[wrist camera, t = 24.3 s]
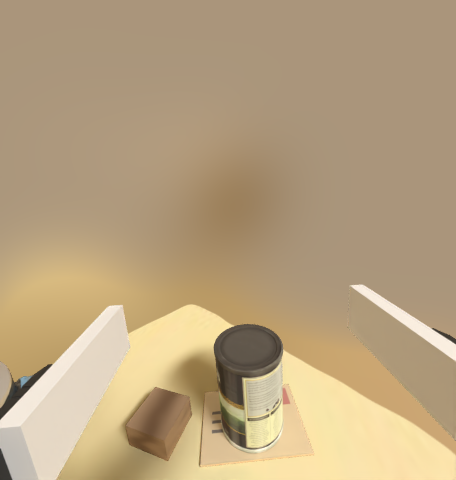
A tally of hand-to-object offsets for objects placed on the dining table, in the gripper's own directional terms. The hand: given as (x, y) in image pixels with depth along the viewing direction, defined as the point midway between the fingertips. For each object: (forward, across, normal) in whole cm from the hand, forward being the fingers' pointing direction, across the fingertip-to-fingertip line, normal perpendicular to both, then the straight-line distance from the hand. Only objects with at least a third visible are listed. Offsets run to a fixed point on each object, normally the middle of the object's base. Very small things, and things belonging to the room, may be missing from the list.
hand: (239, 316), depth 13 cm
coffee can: (+18, -2, +30) cm, 35 cm away
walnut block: (+18, +13, +30) cm, 37 cm away
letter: (+18, -2, +30) cm, 35 cm away
